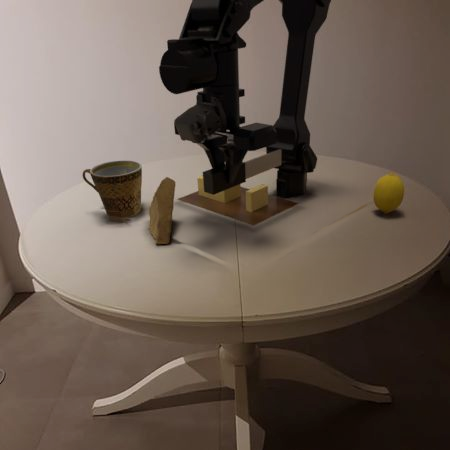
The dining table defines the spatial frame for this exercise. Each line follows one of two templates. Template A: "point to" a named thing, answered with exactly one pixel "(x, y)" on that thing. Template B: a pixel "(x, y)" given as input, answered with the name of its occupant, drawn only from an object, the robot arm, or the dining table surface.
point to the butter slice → (256, 198)
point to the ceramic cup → (118, 188)
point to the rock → (162, 211)
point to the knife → (239, 172)
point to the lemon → (388, 193)
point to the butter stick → (221, 196)
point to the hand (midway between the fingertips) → (225, 181)
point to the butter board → (240, 207)
